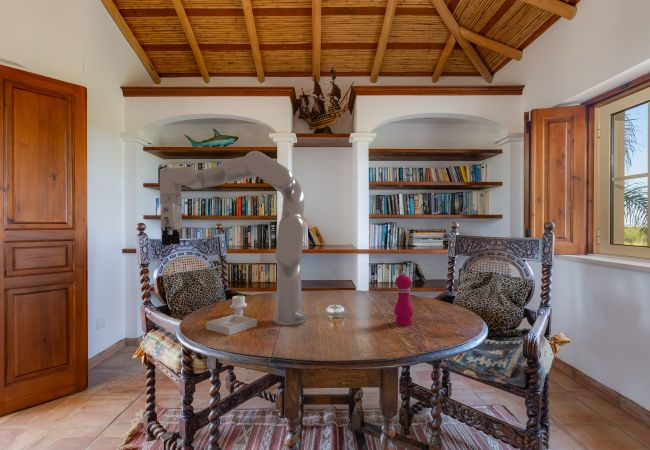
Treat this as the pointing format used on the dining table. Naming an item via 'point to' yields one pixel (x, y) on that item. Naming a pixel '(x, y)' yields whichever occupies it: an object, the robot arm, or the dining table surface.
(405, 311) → the pepper mill
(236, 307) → the pipe fitting
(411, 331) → the dining table surface
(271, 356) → the dining table surface
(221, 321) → the tray
